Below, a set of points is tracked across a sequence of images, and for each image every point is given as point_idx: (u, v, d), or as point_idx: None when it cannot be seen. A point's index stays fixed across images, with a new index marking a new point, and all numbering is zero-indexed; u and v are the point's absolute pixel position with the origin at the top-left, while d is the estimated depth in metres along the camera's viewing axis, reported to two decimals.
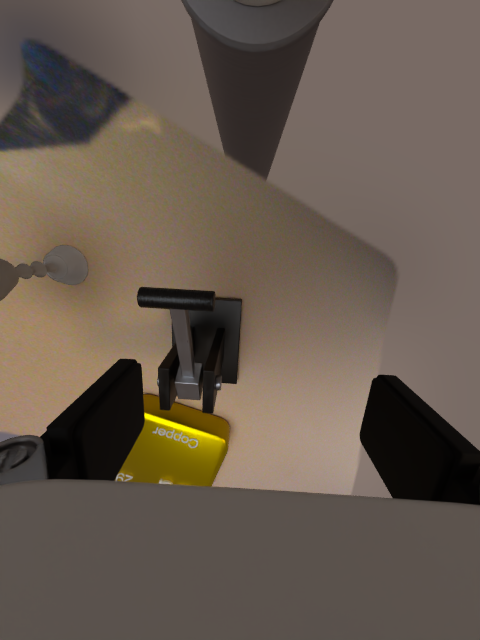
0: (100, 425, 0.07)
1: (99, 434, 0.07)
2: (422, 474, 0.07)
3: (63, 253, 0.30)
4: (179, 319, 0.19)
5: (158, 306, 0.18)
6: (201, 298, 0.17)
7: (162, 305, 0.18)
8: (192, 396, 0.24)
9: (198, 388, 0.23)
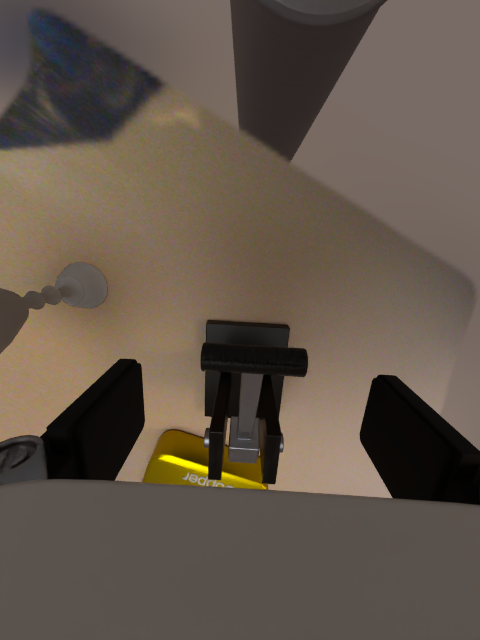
0: (100, 425, 0.07)
1: (99, 434, 0.07)
2: (422, 474, 0.07)
3: (79, 274, 0.25)
4: (252, 383, 0.14)
5: (229, 371, 0.13)
6: (291, 361, 0.12)
7: (235, 370, 0.12)
8: (247, 460, 0.19)
9: (257, 453, 0.19)
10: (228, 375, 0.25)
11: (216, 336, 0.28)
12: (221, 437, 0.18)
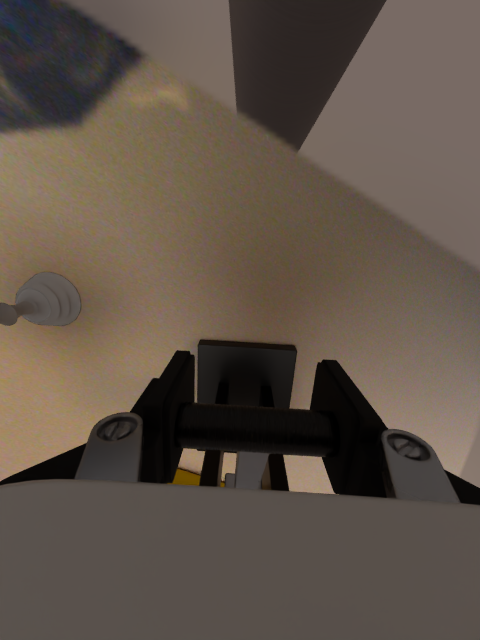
0: (176, 406, 0.08)
1: (176, 414, 0.08)
2: (340, 441, 0.08)
3: (44, 286, 0.21)
4: (254, 460, 0.09)
5: None
6: (314, 437, 0.08)
7: (228, 449, 0.08)
8: None
9: None
10: None
11: (209, 359, 0.23)
12: None
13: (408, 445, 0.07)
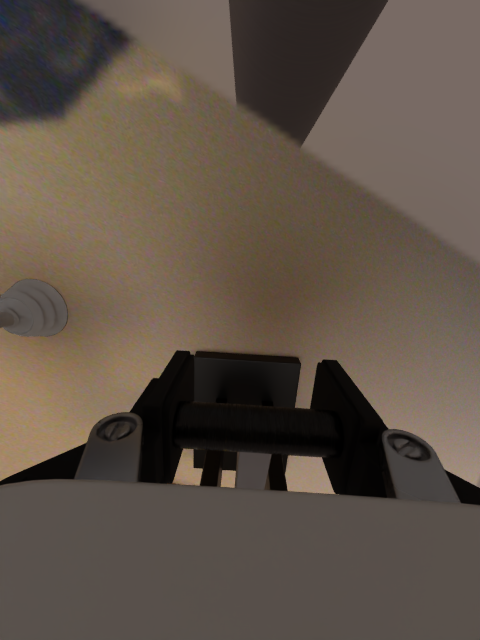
0: (176, 406, 0.08)
1: None
2: None
3: (26, 295, 0.19)
4: (254, 467, 0.09)
5: (217, 449, 0.08)
6: (316, 433, 0.08)
7: (227, 448, 0.08)
8: None
9: None
10: None
11: (206, 373, 0.22)
12: None
13: (408, 445, 0.07)
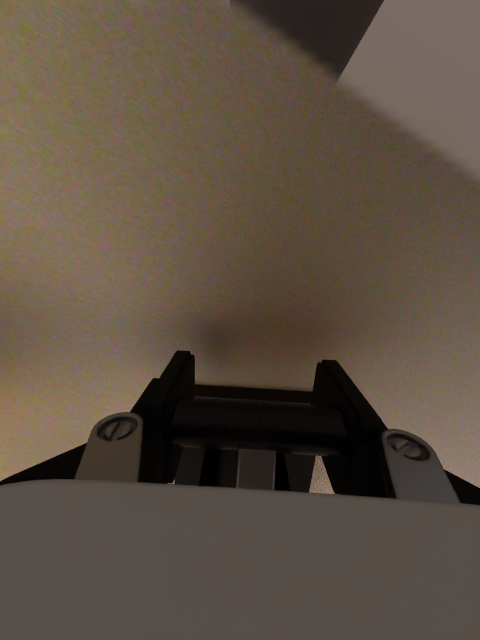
0: None
1: None
2: None
3: None
4: (257, 481, 0.07)
5: (217, 438, 0.07)
6: (318, 415, 0.08)
7: (228, 433, 0.07)
8: None
9: None
10: None
11: None
12: None
13: (408, 445, 0.07)
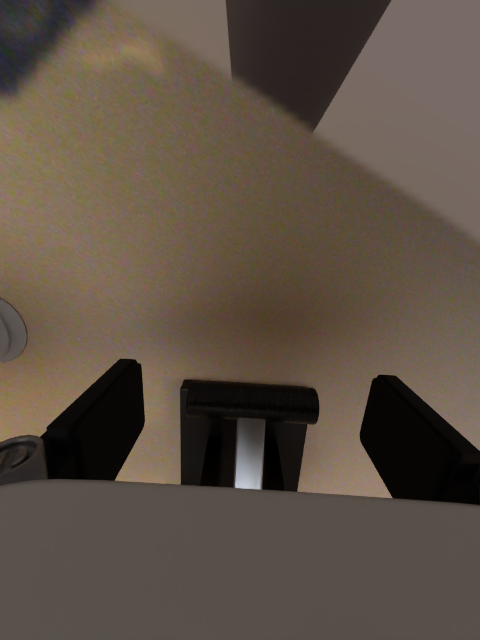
0: (100, 425, 0.07)
1: (99, 434, 0.07)
2: (422, 474, 0.07)
3: None
4: (251, 442, 0.10)
5: (221, 408, 0.10)
6: (297, 392, 0.10)
7: (229, 405, 0.10)
8: None
9: None
10: None
11: None
12: None
13: None
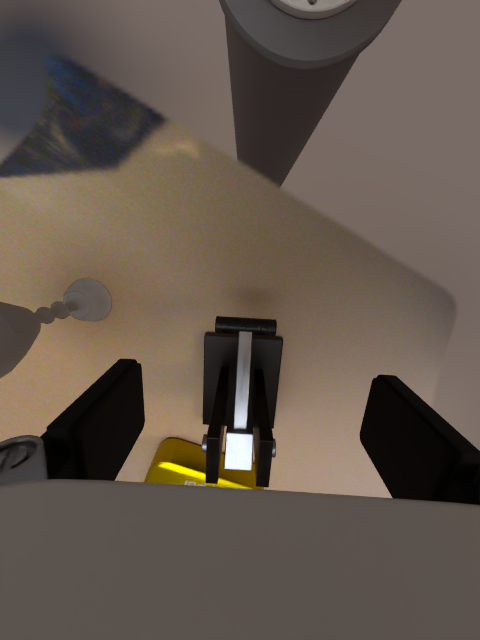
0: (100, 425, 0.07)
1: (99, 434, 0.07)
2: (422, 474, 0.07)
3: (85, 289, 0.27)
4: (245, 342, 0.22)
5: (231, 326, 0.22)
6: (266, 320, 0.22)
7: (235, 325, 0.22)
8: (243, 461, 0.20)
9: (252, 444, 0.20)
10: (225, 384, 0.26)
11: (213, 347, 0.29)
12: (218, 442, 0.19)
13: None
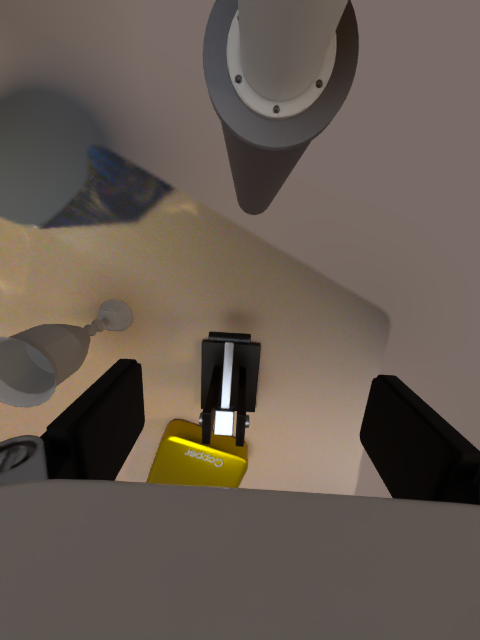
0: (100, 425, 0.07)
1: (99, 434, 0.07)
2: (422, 474, 0.07)
3: (114, 309, 0.37)
4: (229, 349, 0.31)
5: (219, 339, 0.31)
6: (244, 334, 0.32)
7: (222, 338, 0.31)
8: (226, 429, 0.30)
9: (233, 418, 0.30)
10: (216, 379, 0.36)
11: (209, 351, 0.39)
12: (209, 416, 0.29)
13: None
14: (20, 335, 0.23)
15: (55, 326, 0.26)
